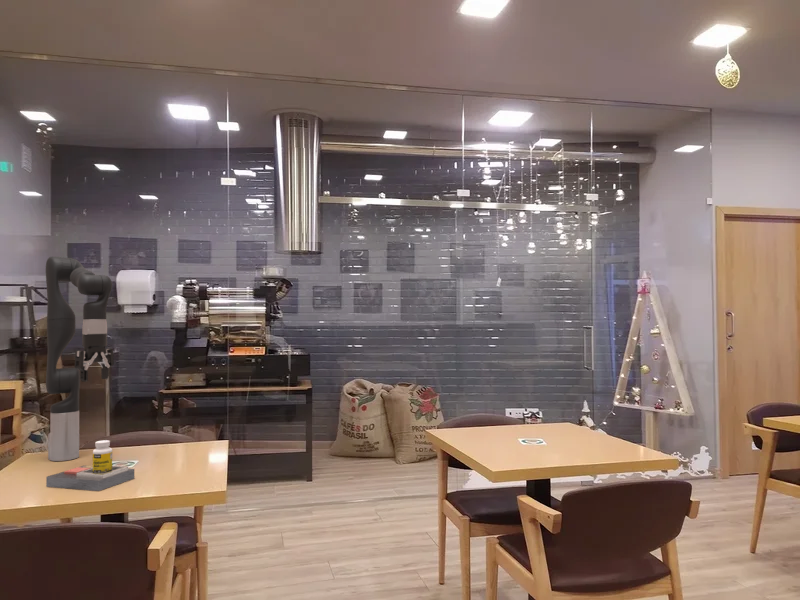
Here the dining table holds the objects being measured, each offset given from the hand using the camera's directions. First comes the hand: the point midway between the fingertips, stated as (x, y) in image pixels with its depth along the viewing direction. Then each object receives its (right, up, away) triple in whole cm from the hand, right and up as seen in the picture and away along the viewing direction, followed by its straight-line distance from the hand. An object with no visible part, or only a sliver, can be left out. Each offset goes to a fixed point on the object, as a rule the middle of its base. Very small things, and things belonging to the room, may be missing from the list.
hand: (94, 380), depth 195 cm
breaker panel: (+9, -29, -19) cm, 36 cm away
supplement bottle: (+13, -26, -20) cm, 35 cm away
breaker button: (+4, -29, -17) cm, 34 cm away
